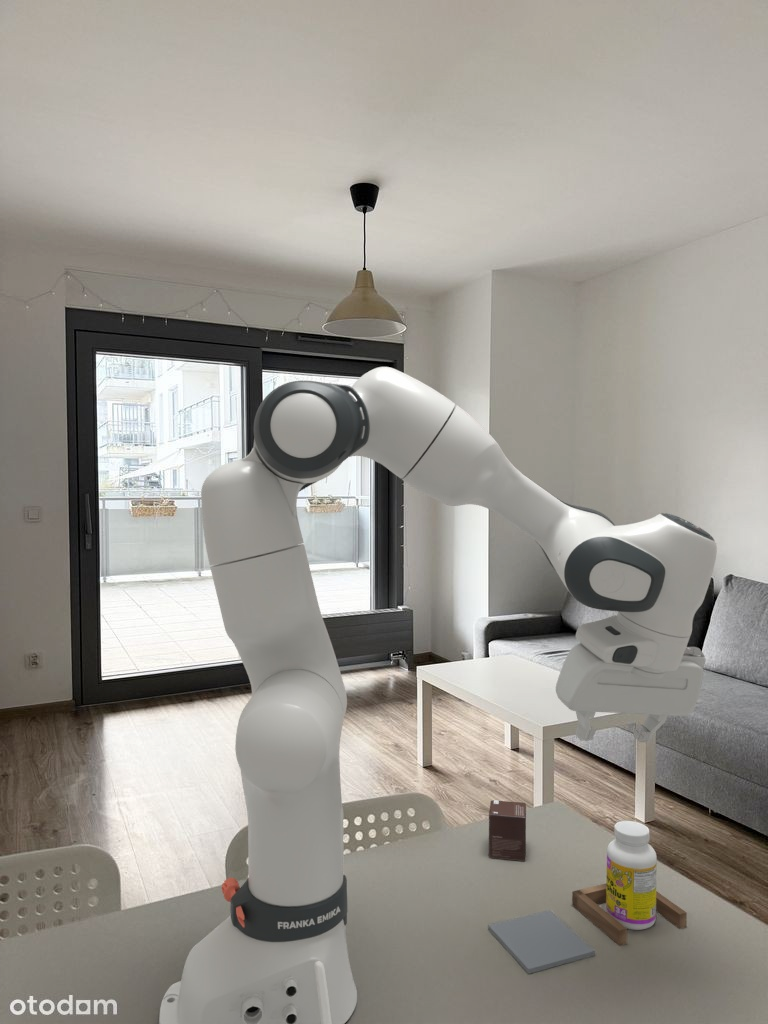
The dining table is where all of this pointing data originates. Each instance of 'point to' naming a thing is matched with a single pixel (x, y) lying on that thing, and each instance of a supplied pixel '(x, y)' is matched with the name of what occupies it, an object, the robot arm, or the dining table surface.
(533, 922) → the grey mat
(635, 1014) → the dining table surface
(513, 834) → the box
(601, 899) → the walnut cradle
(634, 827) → the supplement bottle
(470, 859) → the dining table surface
